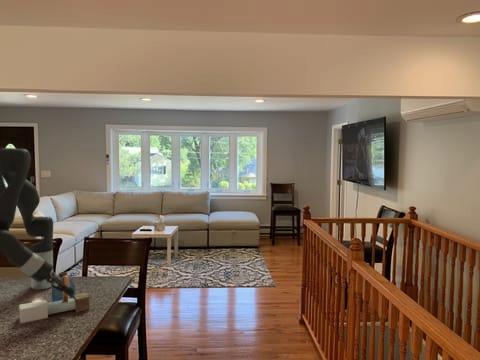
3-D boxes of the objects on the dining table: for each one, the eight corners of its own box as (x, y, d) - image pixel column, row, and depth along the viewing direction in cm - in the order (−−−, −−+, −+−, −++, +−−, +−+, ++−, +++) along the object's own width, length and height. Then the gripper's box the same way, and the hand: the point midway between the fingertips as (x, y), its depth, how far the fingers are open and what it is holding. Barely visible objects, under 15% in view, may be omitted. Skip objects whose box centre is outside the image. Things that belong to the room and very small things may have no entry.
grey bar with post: (34, 313, 140) (33, 279, 139) (79, 305, 148) (78, 272, 148) (34, 317, 137) (34, 282, 136) (80, 308, 146) (80, 275, 145)
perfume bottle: (74, 298, 157) (74, 271, 157) (63, 304, 152) (63, 276, 151) (63, 297, 159) (63, 270, 159) (52, 302, 154) (51, 274, 153)
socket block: (73, 307, 148) (73, 295, 148) (86, 304, 151) (86, 292, 151) (76, 311, 144) (75, 299, 144) (89, 309, 147) (89, 296, 146)
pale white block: (19, 318, 138) (19, 304, 137) (46, 312, 143) (46, 300, 142) (20, 323, 133) (19, 309, 133) (47, 317, 138) (47, 304, 138)
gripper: (45, 263, 133) (81, 290, 141) (42, 255, 145) (75, 280, 152) (29, 280, 131) (67, 306, 138) (27, 270, 142) (62, 295, 150)
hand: (71, 292), depth 145 cm, fingers closed on grey bar with post, 2 cm apart
